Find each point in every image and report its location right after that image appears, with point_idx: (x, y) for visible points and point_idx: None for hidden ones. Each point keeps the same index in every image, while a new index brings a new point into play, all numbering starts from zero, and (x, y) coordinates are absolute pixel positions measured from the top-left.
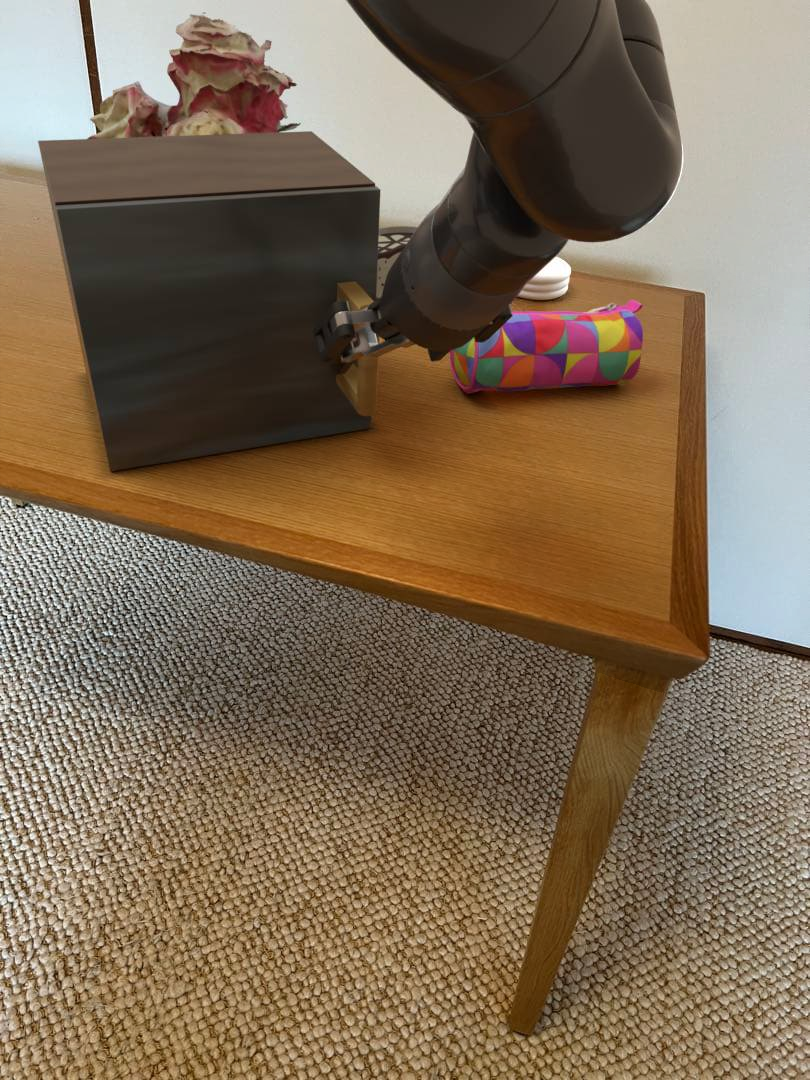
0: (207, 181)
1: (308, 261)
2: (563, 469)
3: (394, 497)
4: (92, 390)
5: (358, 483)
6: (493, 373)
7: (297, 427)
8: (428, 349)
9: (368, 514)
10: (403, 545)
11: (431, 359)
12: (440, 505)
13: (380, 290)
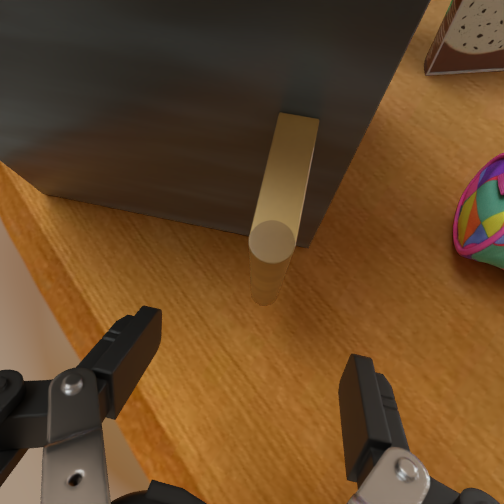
0: None
1: (215, 57)
2: (486, 446)
3: (257, 378)
4: None
5: (237, 332)
6: (501, 262)
7: (222, 224)
8: (345, 370)
9: (213, 390)
10: (213, 467)
11: (340, 387)
12: (296, 422)
13: (455, 34)
